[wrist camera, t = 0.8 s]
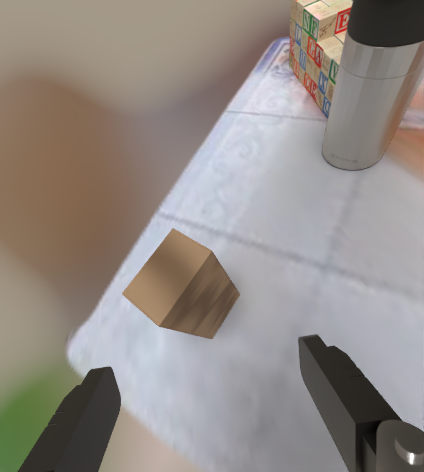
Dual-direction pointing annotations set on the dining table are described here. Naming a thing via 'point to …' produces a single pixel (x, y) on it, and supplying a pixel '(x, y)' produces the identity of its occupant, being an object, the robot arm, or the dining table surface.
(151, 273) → the walnut block
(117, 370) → the dining table surface
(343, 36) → the stack of blocks
